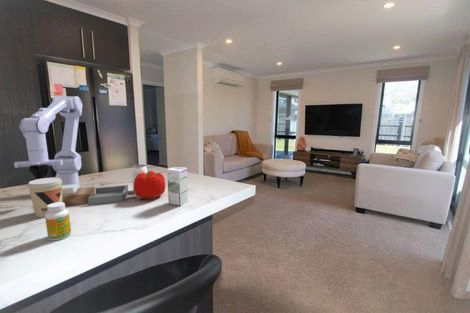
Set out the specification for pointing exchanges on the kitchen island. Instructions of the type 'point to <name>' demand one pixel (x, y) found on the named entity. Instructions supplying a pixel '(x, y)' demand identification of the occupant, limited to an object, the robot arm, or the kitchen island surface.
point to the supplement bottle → (57, 221)
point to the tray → (109, 195)
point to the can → (138, 171)
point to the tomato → (149, 185)
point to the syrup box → (177, 185)
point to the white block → (69, 189)
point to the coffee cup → (45, 194)
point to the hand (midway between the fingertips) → (42, 184)
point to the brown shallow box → (79, 196)
